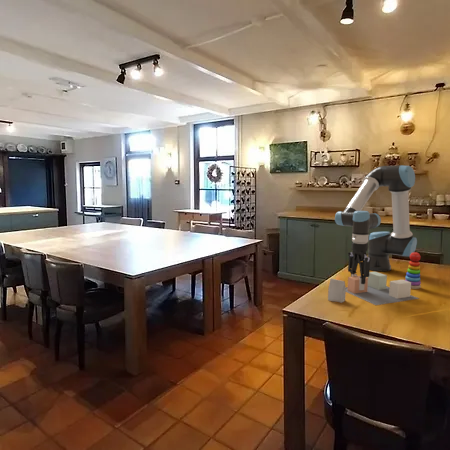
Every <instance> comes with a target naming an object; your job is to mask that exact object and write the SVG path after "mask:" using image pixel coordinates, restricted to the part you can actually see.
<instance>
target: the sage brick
mask: <svg viewBox="0 0 450 450" xmlns="http://www.w3.org/2000/svg"><path fill="white" fill-rule="evenodd" d="M367 278H368V286H370V287H372V288H375V289H378V290H381V289H386V286H387V279H388V275H387V274H383V273H381V272H379V271H369V277H367Z"/></svg>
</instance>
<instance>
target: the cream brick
mask: <svg viewBox="0 0 450 450" xmlns="http://www.w3.org/2000/svg"><path fill="white" fill-rule="evenodd" d="M389 287H390V289H389V295H390V296H392V297H395V298H397V299H398V298H404V297H410V295H411V290H412V289H411V282H408V281H405V279H397V280H390V281H389Z"/></svg>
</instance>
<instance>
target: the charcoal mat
mask: <svg viewBox="0 0 450 450" xmlns="http://www.w3.org/2000/svg"><path fill="white" fill-rule="evenodd" d="M345 288H346V293H348V294H350V295H352V296H354V297H357V298H358V299H361V300H363V301H365V302H368V303H370V304H371V305H375V306H380V305H386V304H394V303H400V302H406V301H412V300H419V299H420V298H419V297H417V296H414V295H411V294H410V297H404V298H398V299H397V298H395V297H392V296H390V295H389V289H390V286H387V285H386V289H381V290H378V289H375V288H372V287H370V286H368V288H367V292H362V293H355V294H354V293H352V292H350V291H347V290H348V286H347V287H346V286H345Z"/></svg>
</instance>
